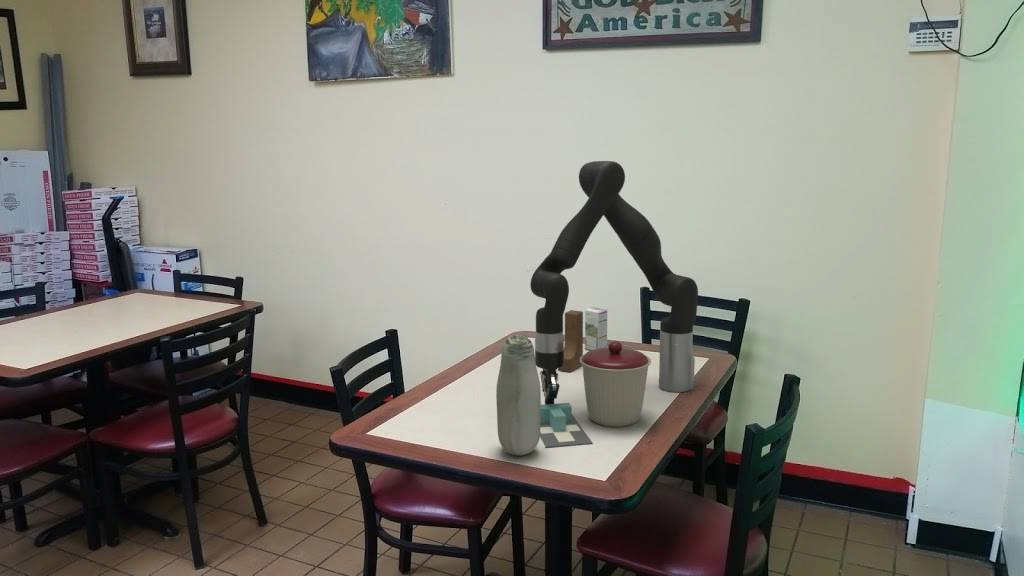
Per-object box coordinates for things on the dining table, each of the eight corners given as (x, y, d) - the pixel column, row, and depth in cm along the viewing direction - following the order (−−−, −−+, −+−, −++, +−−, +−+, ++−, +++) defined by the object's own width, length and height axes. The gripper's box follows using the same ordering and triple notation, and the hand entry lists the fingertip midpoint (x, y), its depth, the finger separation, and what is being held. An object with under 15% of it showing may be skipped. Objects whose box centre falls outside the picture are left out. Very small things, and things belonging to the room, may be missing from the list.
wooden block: (570, 373, 233) (570, 317, 230) (557, 370, 236) (557, 315, 232) (583, 365, 241) (583, 311, 237) (570, 363, 243) (570, 309, 240)
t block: (568, 417, 195) (568, 402, 194) (577, 429, 186) (577, 414, 186) (535, 419, 194) (534, 405, 193) (542, 432, 185) (542, 417, 184)
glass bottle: (543, 460, 170) (542, 341, 165) (498, 462, 169) (496, 343, 164) (538, 443, 180) (537, 330, 174) (496, 444, 179) (493, 331, 174)
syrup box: (607, 349, 259) (608, 308, 256) (597, 352, 255) (597, 311, 252) (594, 346, 263) (595, 306, 260) (584, 349, 259) (584, 309, 256)
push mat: (564, 404, 206) (564, 403, 206) (592, 444, 179) (592, 442, 179) (523, 407, 204) (523, 406, 204) (545, 448, 177) (545, 446, 177)
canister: (663, 419, 194) (665, 341, 190) (621, 439, 181) (622, 356, 177) (607, 403, 206) (608, 329, 202) (565, 421, 194) (564, 342, 190)
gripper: (569, 354, 187) (569, 419, 191) (557, 340, 200) (557, 401, 203) (540, 355, 186) (540, 421, 189) (530, 341, 199) (530, 403, 202)
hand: (549, 411), depth 196 cm, fingers closed
